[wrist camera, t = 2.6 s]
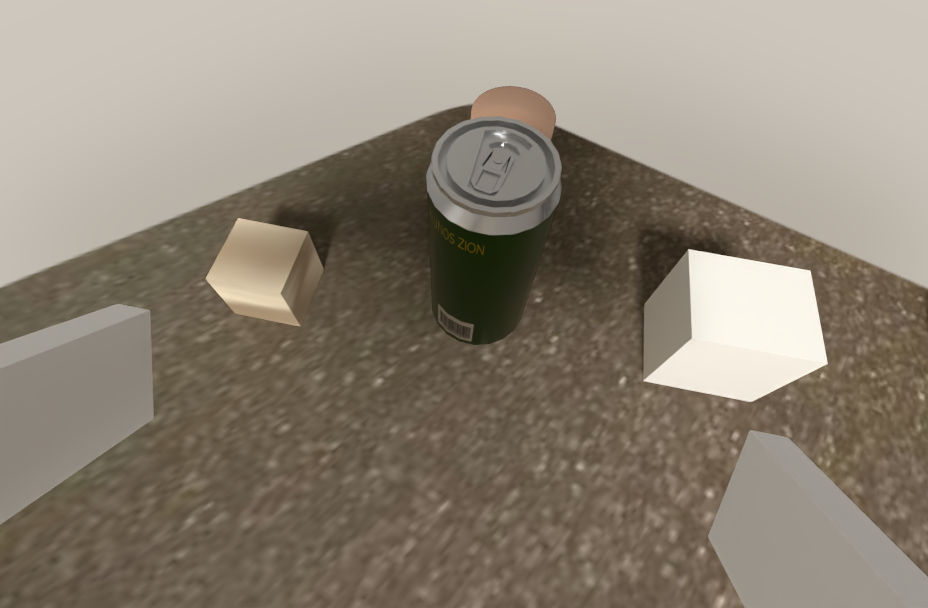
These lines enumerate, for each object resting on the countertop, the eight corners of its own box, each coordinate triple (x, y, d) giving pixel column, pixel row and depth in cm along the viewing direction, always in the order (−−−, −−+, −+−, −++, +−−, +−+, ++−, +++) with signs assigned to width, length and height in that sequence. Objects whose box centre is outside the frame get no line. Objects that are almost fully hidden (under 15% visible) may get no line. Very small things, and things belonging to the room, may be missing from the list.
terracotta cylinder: (550, 201, 32) (571, 132, 27) (484, 221, 31) (492, 154, 26) (518, 151, 35) (532, 78, 29) (455, 169, 34) (458, 97, 28)
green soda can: (502, 363, 27) (542, 238, 16) (416, 329, 28) (400, 188, 17) (533, 288, 29) (584, 136, 19) (453, 258, 30) (458, 97, 19)
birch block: (301, 327, 27) (280, 293, 24) (235, 314, 28) (205, 279, 24) (324, 270, 29) (307, 231, 26) (262, 258, 30) (238, 218, 26)
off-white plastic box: (750, 402, 26) (827, 363, 21) (642, 381, 27) (691, 338, 21) (742, 323, 29) (810, 270, 23) (643, 304, 29) (688, 249, 24)
